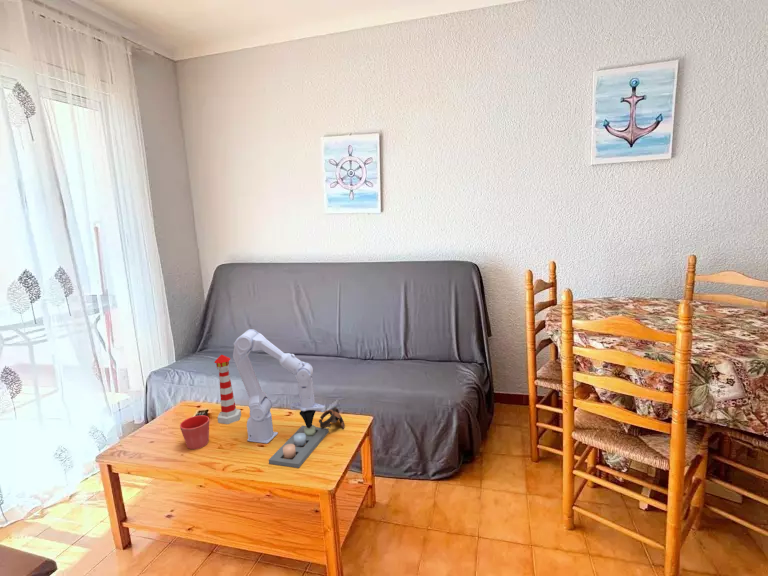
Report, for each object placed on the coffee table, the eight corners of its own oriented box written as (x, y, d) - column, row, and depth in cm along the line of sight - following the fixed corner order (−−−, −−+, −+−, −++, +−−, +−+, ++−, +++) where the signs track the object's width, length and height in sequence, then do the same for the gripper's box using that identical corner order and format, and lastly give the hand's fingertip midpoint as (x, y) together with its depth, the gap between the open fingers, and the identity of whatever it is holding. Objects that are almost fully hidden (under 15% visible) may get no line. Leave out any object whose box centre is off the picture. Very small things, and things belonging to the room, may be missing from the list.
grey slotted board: (268, 463, 149) (268, 459, 148) (302, 428, 172) (302, 425, 172) (298, 468, 145) (298, 464, 145) (328, 431, 168) (328, 428, 168)
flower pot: (180, 454, 158) (176, 430, 157) (186, 439, 169) (183, 417, 167) (209, 449, 161) (206, 426, 159) (214, 435, 171) (211, 413, 169)
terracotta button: (281, 457, 149) (280, 449, 149) (287, 451, 154) (286, 443, 153) (292, 459, 148) (291, 451, 148) (298, 452, 152) (297, 444, 152)
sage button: (302, 437, 165) (302, 429, 164) (308, 431, 169) (307, 424, 168) (312, 438, 163) (312, 431, 163) (317, 432, 167) (317, 425, 167)
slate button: (292, 445, 157) (291, 438, 156) (298, 439, 161) (297, 432, 160) (302, 447, 156) (302, 439, 155) (308, 441, 160) (307, 433, 159)
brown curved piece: (344, 433, 167) (333, 419, 165) (325, 441, 170) (314, 428, 167) (348, 413, 178) (338, 399, 175) (330, 421, 181) (320, 407, 178)
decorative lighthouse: (245, 415, 187) (238, 351, 182) (232, 425, 179) (223, 358, 174) (227, 412, 191) (219, 350, 185) (213, 422, 182) (204, 356, 177)
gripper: (285, 397, 161) (288, 429, 164) (318, 400, 157) (321, 433, 159) (294, 389, 168) (297, 421, 170) (326, 392, 164) (329, 424, 166)
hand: (309, 426), depth 165 cm, fingers closed
